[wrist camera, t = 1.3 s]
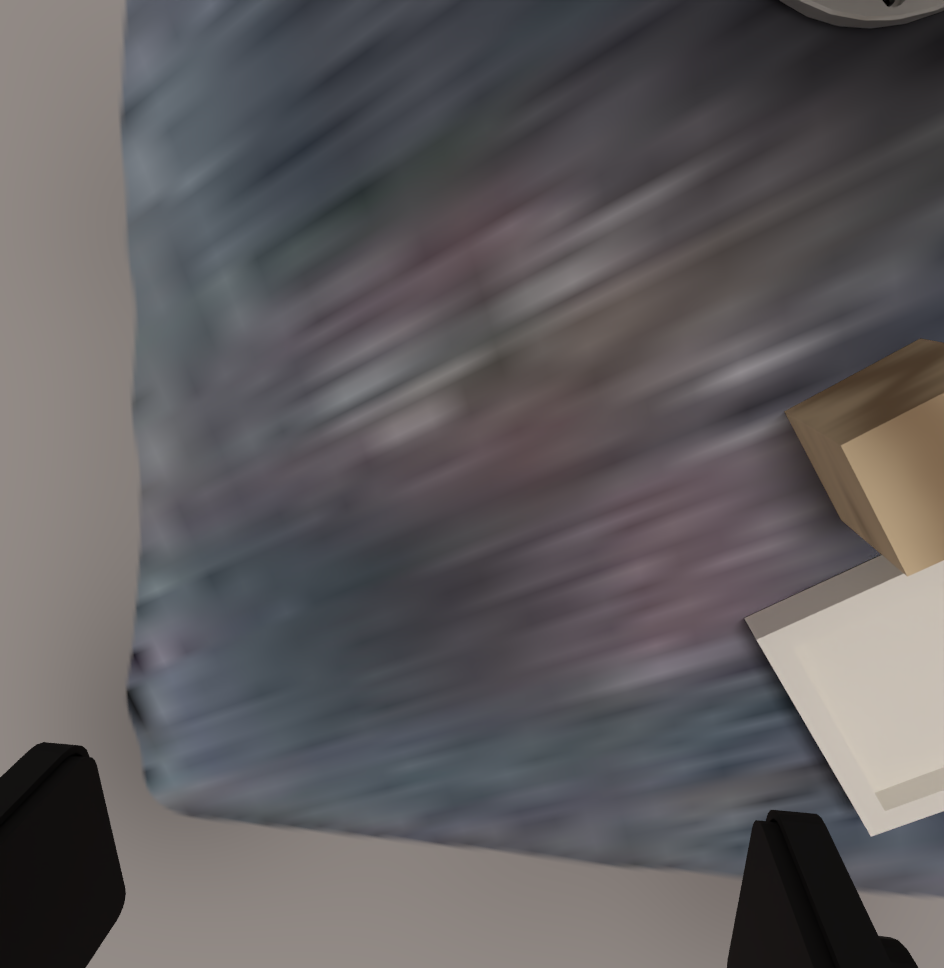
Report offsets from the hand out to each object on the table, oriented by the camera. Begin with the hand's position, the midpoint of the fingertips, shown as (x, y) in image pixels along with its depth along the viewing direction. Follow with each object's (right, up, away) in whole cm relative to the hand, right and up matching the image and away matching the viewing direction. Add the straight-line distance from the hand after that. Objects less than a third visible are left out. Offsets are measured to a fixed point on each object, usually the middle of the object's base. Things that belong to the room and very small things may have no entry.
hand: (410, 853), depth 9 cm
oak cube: (+19, +7, +20) cm, 28 cm away
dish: (+22, -4, +23) cm, 32 cm away
